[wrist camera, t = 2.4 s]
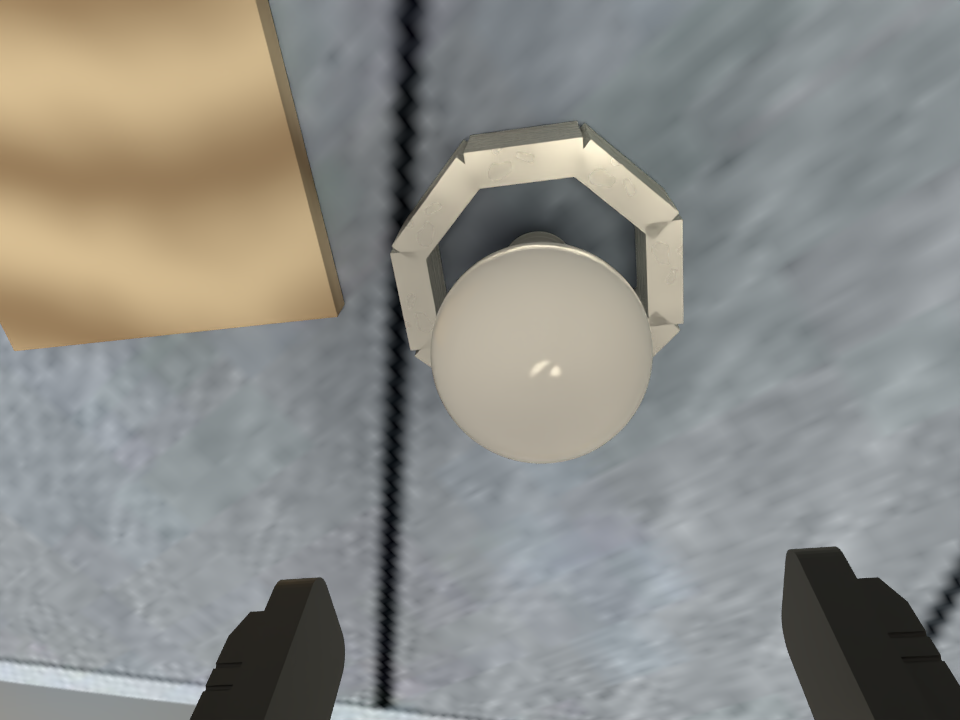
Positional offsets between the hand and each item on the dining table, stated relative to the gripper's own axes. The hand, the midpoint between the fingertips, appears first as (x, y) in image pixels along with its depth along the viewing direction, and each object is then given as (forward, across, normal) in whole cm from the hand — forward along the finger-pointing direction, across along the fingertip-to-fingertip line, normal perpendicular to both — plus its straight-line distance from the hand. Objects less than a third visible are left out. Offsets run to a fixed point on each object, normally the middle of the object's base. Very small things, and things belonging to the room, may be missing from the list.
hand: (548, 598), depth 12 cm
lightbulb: (+17, 0, 0) cm, 17 cm away
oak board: (+17, +15, -6) cm, 24 cm away
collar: (+17, 0, 0) cm, 17 cm away
